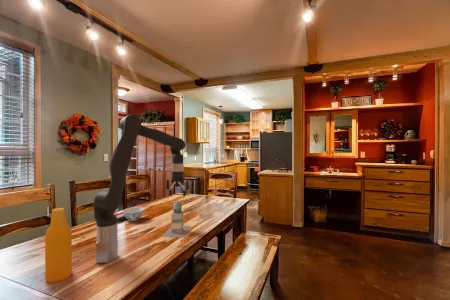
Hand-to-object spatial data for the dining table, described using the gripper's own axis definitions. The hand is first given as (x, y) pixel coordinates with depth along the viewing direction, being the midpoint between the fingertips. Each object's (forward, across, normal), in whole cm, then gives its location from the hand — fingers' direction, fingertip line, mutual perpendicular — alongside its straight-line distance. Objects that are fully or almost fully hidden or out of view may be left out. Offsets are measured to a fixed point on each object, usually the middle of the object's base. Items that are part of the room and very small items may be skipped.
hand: (177, 195), depth 146 cm
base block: (+23, 0, 0) cm, 23 cm away
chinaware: (+24, -41, +23) cm, 53 cm away
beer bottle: (+25, -36, -52) cm, 68 cm away
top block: (+17, 0, 0) cm, 17 cm away
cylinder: (+11, 0, 0) cm, 11 cm away
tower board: (+24, 0, 0) cm, 24 cm away
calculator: (+25, -53, +23) cm, 63 cm away
